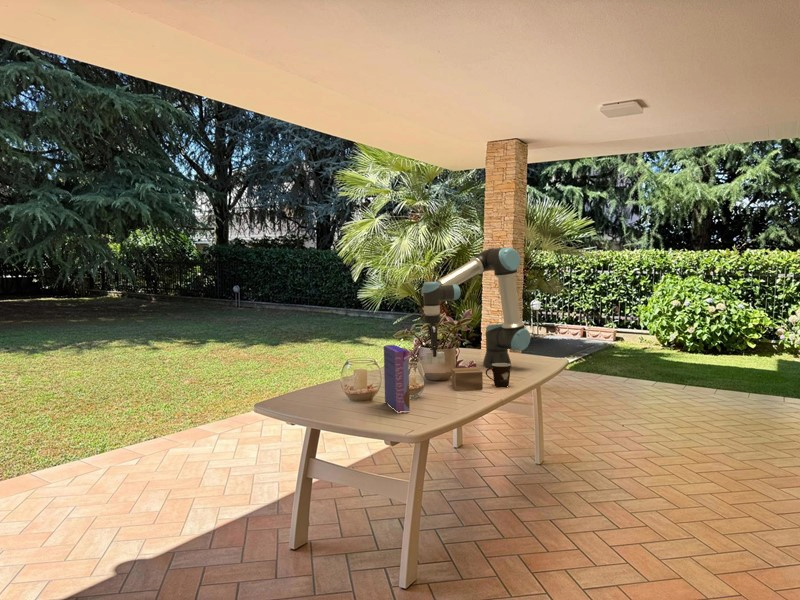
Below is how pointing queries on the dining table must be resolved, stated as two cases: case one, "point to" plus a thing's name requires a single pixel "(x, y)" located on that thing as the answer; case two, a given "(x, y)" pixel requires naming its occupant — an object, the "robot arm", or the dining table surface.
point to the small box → (440, 357)
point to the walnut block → (467, 379)
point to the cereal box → (396, 377)
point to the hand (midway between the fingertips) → (433, 361)
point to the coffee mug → (500, 374)
